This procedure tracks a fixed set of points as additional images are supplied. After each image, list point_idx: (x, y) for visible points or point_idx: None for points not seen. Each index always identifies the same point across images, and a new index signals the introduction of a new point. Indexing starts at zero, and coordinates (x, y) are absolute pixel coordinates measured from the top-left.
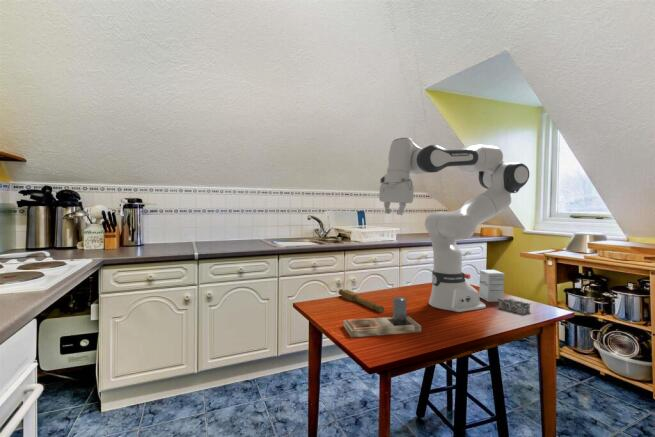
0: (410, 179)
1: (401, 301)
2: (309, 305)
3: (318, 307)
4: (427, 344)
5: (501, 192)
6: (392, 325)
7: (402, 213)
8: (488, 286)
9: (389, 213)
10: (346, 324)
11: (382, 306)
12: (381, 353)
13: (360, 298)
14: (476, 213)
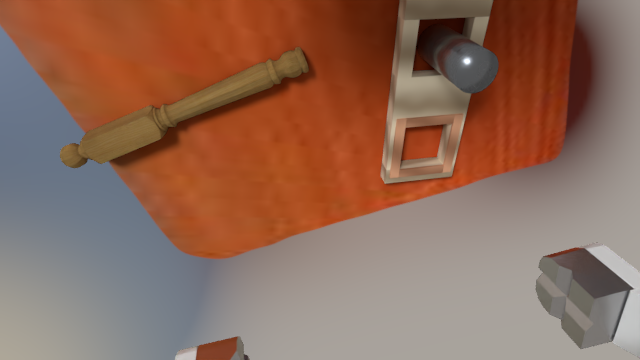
0: None
1: (495, 74)
2: (212, 239)
3: (232, 220)
4: (551, 12)
5: None
6: None
7: (608, 255)
8: None
9: (238, 338)
10: (410, 180)
11: (304, 59)
12: (533, 128)
13: (196, 111)
14: None
